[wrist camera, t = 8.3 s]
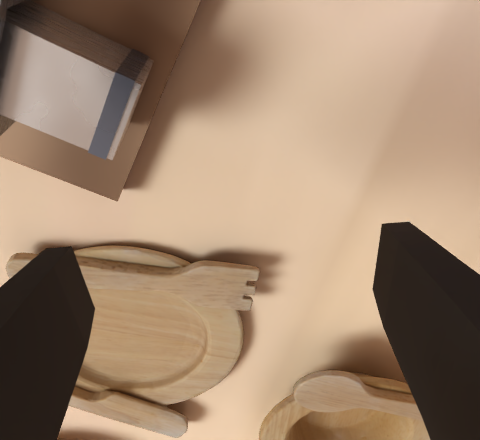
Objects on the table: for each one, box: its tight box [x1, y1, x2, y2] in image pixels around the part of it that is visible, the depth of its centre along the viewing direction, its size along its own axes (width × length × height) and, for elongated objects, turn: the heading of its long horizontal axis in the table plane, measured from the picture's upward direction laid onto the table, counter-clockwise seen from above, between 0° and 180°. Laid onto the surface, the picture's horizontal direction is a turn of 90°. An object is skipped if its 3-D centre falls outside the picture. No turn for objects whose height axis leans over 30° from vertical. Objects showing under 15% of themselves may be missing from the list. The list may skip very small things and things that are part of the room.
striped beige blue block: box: [0, 0, 153, 160], centre depth 14 cm, size 7×3×3 cm, turn 63°
